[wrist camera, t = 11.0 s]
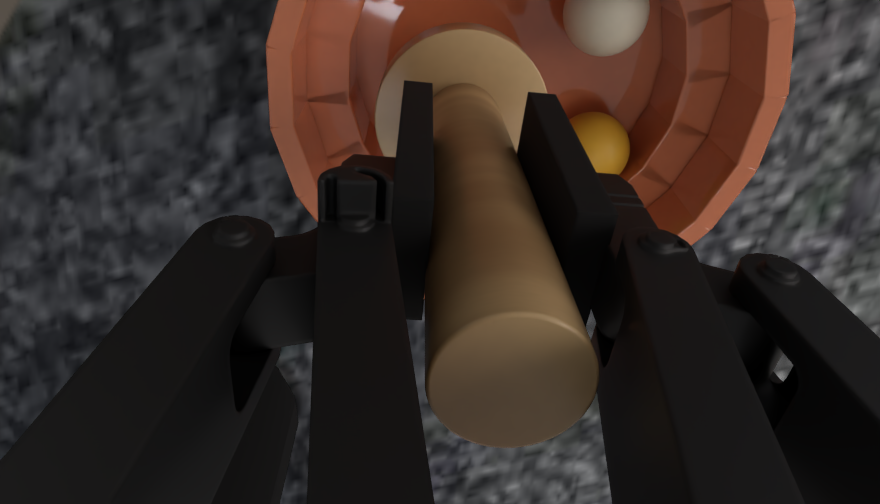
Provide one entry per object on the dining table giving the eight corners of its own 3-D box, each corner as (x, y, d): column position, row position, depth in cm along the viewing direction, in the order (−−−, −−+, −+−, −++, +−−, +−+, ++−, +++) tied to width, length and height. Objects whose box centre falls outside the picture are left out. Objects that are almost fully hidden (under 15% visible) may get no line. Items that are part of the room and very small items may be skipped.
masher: (456, -18, 20) (517, 101, 7) (576, 103, 22) (799, 372, 9) (343, 115, 22) (226, 400, 9) (463, 215, 24) (510, 567, 11)
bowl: (294, -221, 20) (248, -248, 15) (784, -160, 21) (897, -167, 16) (304, 222, 29) (278, 299, 24) (648, 248, 30) (693, 327, 25)
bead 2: (557, 95, 25) (570, 129, 23) (629, 103, 25) (649, 138, 23) (541, 159, 27) (551, 197, 24) (608, 166, 27) (624, 204, 25)
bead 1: (579, -38, 23) (566, -41, 20) (661, -27, 22) (658, -28, 20) (562, 45, 24) (548, 52, 22) (639, 58, 23) (633, 68, 21)
